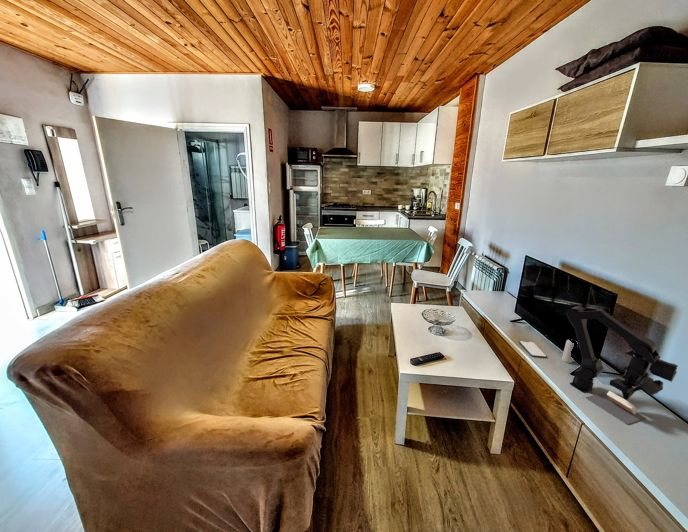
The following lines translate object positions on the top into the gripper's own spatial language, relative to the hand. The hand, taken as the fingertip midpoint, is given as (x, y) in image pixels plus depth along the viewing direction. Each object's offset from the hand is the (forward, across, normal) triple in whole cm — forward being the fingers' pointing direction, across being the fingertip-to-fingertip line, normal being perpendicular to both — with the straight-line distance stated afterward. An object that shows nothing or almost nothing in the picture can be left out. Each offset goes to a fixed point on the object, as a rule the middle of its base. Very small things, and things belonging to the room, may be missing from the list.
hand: (625, 399), depth 128 cm
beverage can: (+5, +13, +33) cm, 36 cm away
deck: (+3, 0, 0) cm, 3 cm away
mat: (+4, -4, +1) cm, 6 cm away
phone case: (+5, +4, +47) cm, 47 cm away
